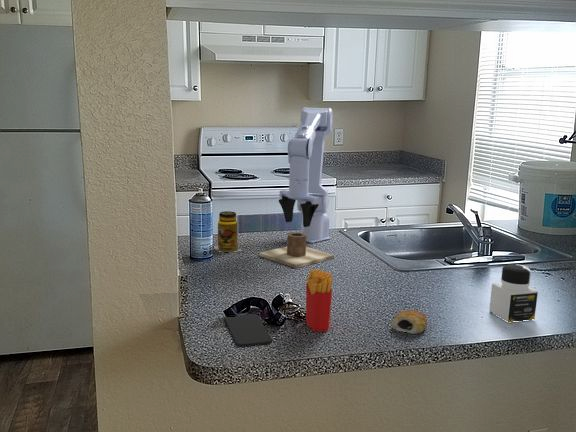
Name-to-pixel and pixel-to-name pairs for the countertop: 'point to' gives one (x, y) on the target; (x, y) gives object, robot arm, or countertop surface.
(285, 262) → the post board
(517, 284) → the medicine bottle
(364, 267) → the countertop surface
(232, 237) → the condiment
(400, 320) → the pastry
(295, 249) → the collar
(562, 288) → the countertop surface
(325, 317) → the french fries
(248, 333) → the phone
